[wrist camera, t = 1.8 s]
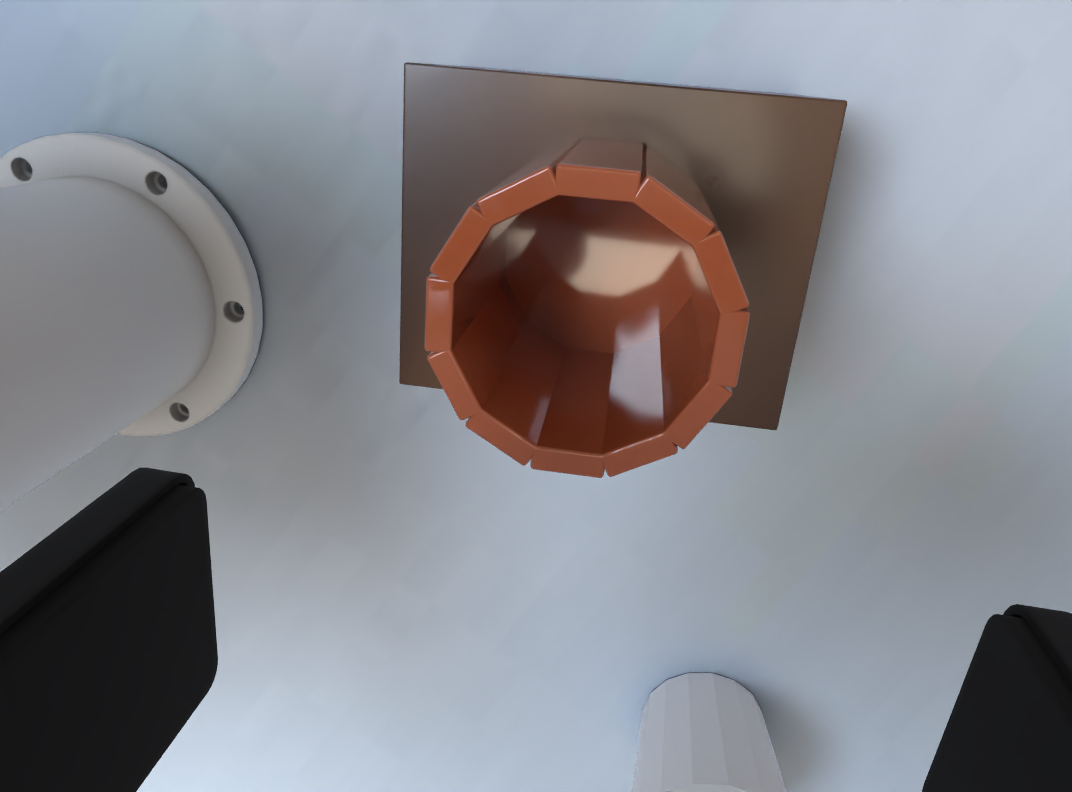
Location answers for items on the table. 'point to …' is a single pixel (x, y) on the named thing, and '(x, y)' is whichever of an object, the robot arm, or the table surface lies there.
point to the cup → (587, 311)
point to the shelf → (654, 119)
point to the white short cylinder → (704, 739)
